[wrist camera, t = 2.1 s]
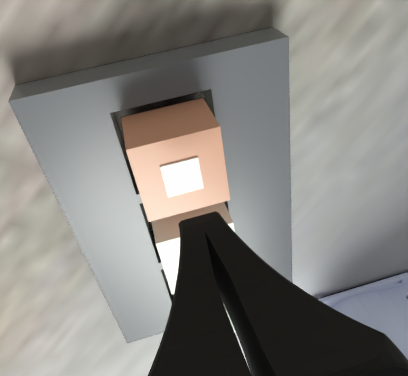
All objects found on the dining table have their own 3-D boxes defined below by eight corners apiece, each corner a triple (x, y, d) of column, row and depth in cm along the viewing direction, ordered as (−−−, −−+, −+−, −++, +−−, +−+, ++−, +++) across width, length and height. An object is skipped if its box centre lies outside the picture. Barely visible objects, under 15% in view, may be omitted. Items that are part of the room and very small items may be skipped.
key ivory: (217, 187, 21) (233, 223, 18) (225, 237, 23) (241, 275, 21) (148, 205, 20) (156, 245, 18) (163, 254, 23) (171, 295, 20)
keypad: (273, 26, 18) (288, 36, 17) (282, 275, 29) (292, 293, 28) (15, 85, 17) (8, 101, 16) (125, 321, 28) (127, 343, 26)
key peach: (202, 97, 18) (220, 127, 15) (213, 165, 20) (230, 201, 17) (121, 117, 17) (125, 151, 15) (141, 184, 20) (148, 223, 17)
